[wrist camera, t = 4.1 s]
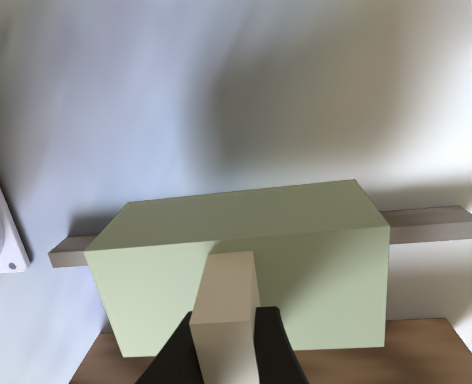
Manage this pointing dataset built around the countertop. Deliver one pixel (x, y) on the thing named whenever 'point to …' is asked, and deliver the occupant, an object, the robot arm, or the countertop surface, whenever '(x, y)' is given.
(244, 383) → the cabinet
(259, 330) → the robot arm
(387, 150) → the countertop surface
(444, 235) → the wall board
